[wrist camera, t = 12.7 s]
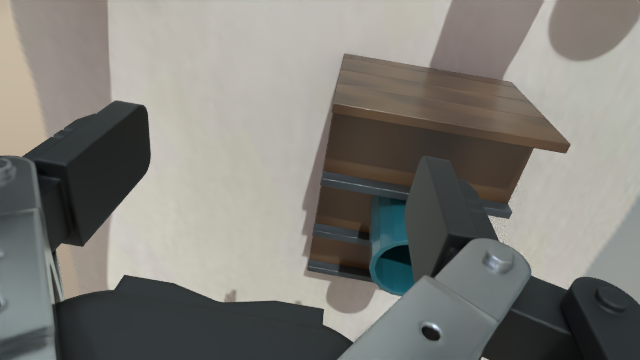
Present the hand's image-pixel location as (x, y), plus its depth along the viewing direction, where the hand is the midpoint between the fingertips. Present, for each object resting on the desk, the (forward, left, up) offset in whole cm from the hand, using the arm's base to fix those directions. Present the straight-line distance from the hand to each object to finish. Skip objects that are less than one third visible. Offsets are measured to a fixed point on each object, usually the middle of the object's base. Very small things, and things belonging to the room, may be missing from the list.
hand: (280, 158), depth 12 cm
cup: (+9, -15, -22) cm, 28 cm away
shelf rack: (+8, -15, -27) cm, 32 cm away
